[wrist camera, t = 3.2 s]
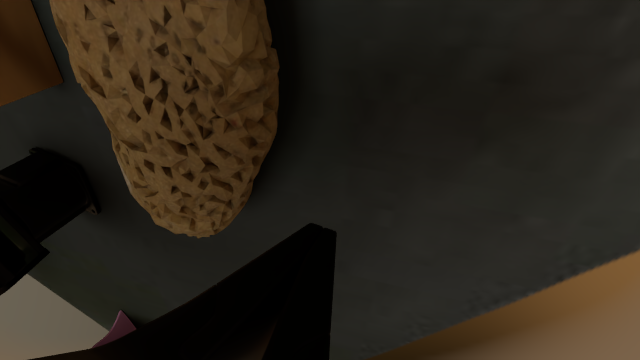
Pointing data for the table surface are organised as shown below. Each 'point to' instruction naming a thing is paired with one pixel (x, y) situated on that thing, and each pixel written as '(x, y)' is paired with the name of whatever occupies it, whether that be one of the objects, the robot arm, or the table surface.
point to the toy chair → (117, 329)
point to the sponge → (179, 99)
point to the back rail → (23, 53)
